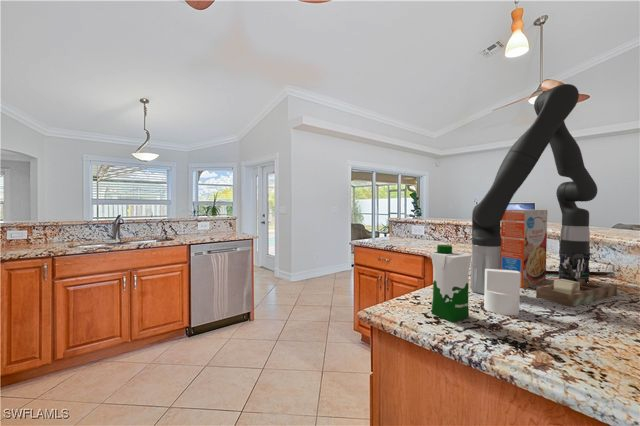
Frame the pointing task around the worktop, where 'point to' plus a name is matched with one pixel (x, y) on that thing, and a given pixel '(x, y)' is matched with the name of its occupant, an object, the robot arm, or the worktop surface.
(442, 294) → the milk carton
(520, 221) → the orange cereal box
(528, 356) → the worktop surface
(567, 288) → the maple block
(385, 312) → the worktop surface
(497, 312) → the base with upright slab
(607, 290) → the trap track
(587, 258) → the storage jar
